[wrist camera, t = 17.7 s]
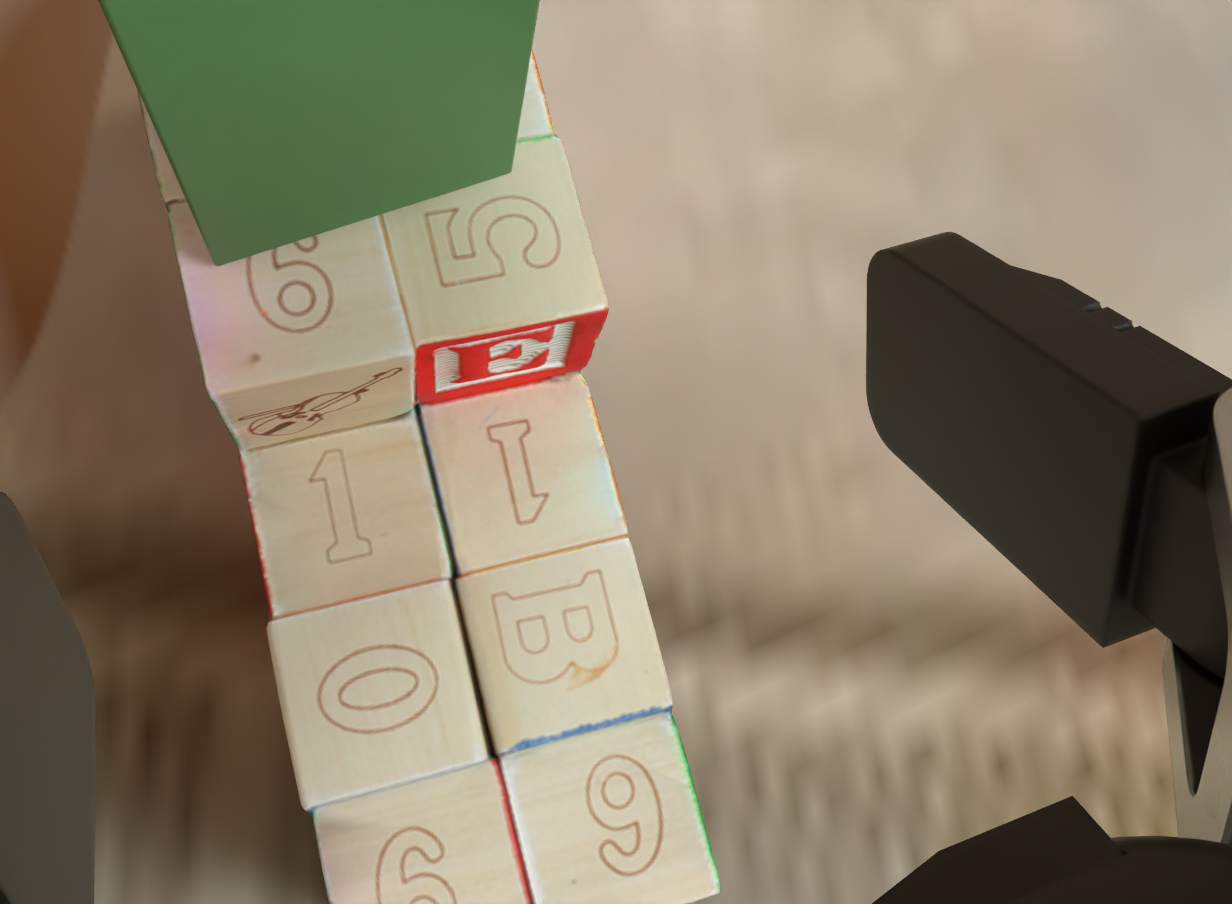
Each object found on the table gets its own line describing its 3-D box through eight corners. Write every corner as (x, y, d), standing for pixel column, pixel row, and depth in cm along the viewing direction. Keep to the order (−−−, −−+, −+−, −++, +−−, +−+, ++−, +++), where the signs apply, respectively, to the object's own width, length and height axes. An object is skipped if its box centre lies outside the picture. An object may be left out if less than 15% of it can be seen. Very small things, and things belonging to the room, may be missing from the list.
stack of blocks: (628, 849, 28) (783, 934, 16) (363, 926, 27) (320, 1079, 15) (432, 46, 32) (441, -358, 20) (193, 79, 31) (52, -333, 19)
